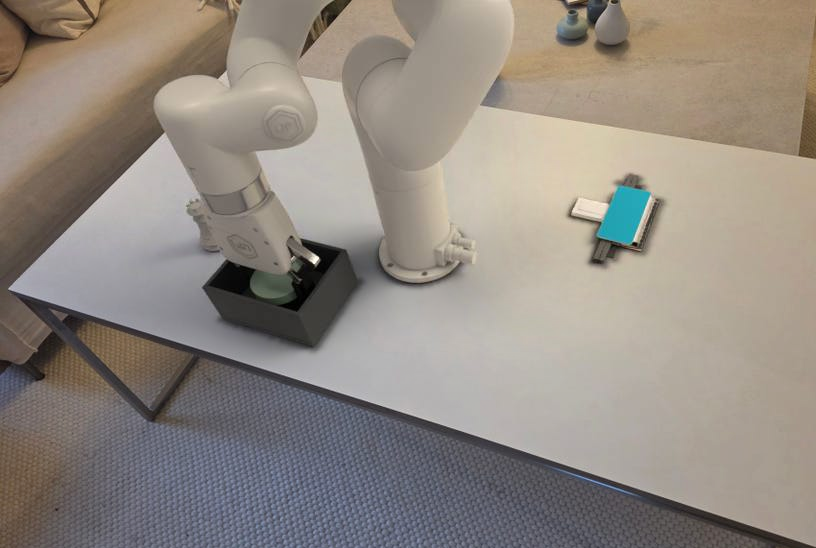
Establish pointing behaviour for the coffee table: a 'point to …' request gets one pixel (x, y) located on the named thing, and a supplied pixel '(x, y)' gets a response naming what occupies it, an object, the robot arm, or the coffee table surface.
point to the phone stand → (620, 218)
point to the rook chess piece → (201, 224)
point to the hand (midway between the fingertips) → (282, 287)
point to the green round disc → (273, 287)
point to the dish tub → (292, 317)
